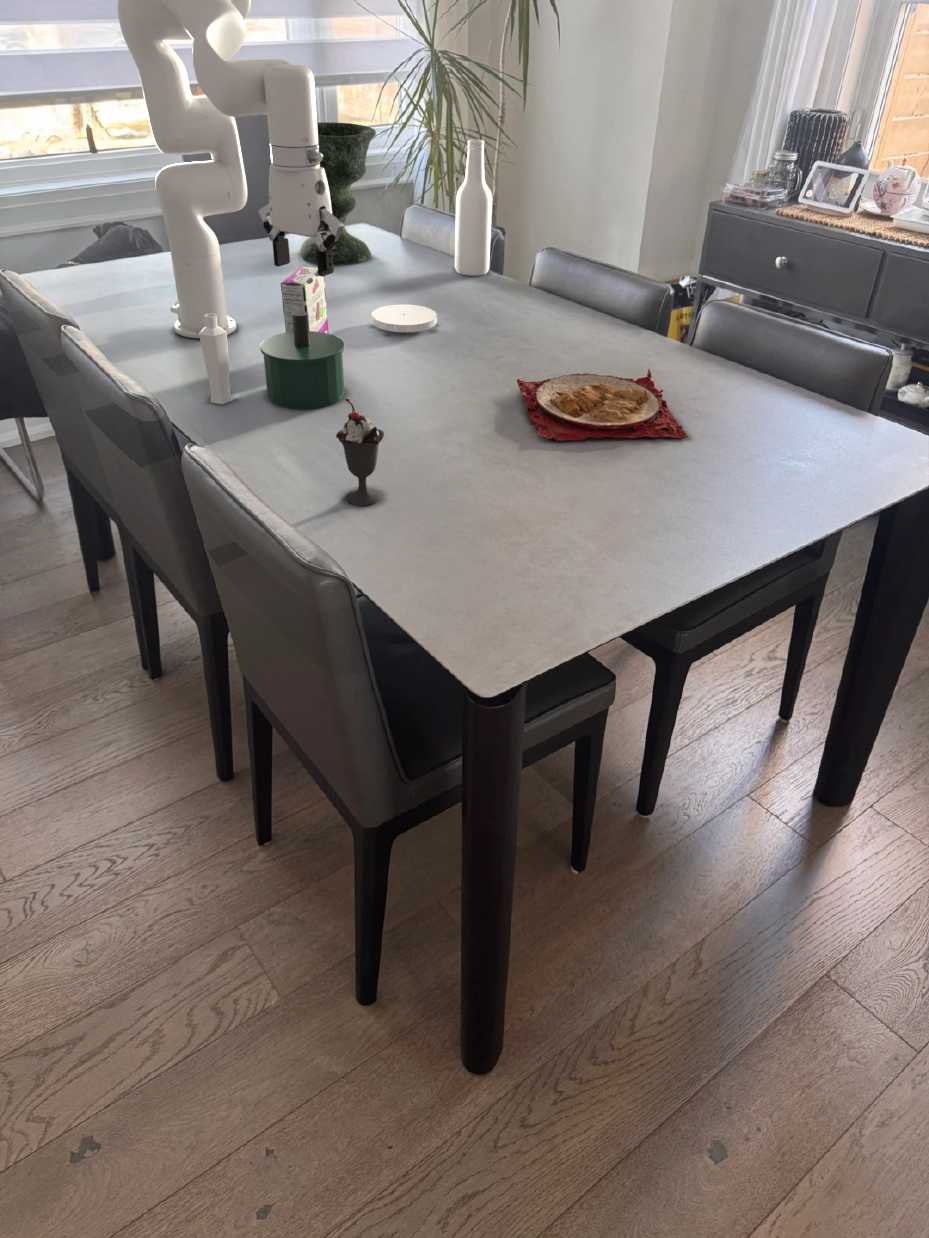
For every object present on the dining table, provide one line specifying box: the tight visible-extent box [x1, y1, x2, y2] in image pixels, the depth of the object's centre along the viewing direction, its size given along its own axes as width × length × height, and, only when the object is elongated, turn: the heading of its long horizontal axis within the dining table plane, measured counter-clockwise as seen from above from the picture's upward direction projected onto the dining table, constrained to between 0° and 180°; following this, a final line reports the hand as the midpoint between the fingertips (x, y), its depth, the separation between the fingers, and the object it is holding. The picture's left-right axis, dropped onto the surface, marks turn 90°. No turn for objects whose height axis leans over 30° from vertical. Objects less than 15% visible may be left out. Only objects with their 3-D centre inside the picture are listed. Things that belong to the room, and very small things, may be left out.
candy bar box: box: [280, 266, 330, 334], centre depth 175 cm, size 11×5×16 cm, turn 168°
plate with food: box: [516, 368, 689, 442], centre depth 162 cm, size 24×26×4 cm
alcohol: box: [454, 138, 493, 277], centre depth 225 cm, size 9×9×30 cm
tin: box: [263, 352, 345, 410], centre depth 164 cm, size 14×14×8 cm
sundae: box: [335, 398, 385, 507], centre depth 131 cm, size 7×7×15 cm
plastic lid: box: [370, 303, 438, 333], centre depth 197 cm, size 14×14×2 cm
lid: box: [259, 311, 345, 363], centre depth 160 cm, size 15×15×7 cm
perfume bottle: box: [199, 313, 234, 405], centre depth 159 cm, size 5×4×15 cm
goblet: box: [298, 121, 377, 265], centre depth 233 cm, size 22×23×30 cm
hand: (303, 269), depth 154 cm, fingers open, 9 cm apart
